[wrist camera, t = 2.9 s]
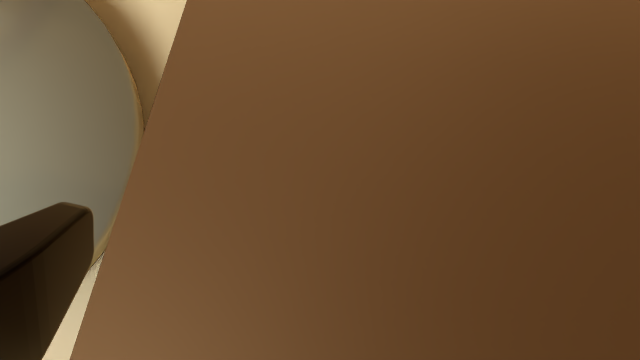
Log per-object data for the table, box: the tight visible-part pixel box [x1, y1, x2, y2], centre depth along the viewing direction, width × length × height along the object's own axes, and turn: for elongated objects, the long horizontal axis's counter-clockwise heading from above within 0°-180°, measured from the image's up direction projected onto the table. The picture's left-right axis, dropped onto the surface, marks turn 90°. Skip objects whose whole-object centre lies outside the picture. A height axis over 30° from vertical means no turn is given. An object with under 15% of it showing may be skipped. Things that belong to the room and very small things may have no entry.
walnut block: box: [70, 0, 640, 360], centre depth 9 cm, size 5×5×12 cm
